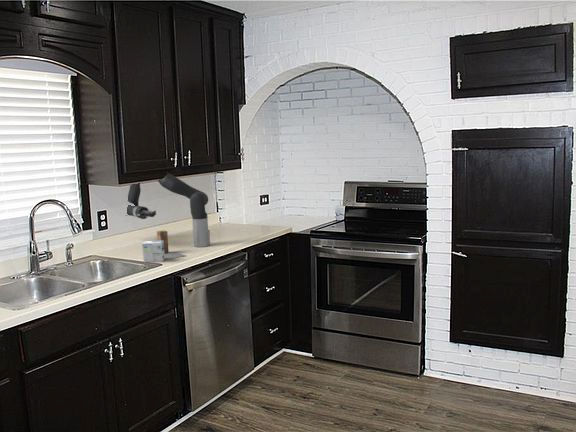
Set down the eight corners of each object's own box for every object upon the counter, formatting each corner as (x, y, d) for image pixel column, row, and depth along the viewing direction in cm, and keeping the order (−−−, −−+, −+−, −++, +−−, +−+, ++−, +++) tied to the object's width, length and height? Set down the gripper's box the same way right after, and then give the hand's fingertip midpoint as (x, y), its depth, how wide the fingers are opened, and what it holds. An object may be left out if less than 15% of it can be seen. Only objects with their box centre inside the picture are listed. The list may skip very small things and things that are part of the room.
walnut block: (165, 252, 334) (163, 230, 332) (168, 253, 330) (167, 231, 328) (158, 253, 331) (156, 231, 329) (161, 254, 328) (160, 232, 326)
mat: (175, 252, 332) (175, 252, 332) (186, 256, 321) (186, 255, 321) (156, 255, 325) (156, 255, 325) (167, 259, 314) (167, 259, 314)
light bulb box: (165, 259, 316) (163, 240, 314) (162, 261, 309) (161, 242, 308) (145, 259, 316) (144, 240, 314) (143, 262, 309) (141, 243, 307)
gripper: (130, 207, 345) (142, 210, 332) (150, 205, 353) (162, 207, 340) (131, 219, 346) (142, 222, 333) (151, 217, 354) (163, 220, 341)
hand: (152, 215), depth 336 cm, fingers closed
